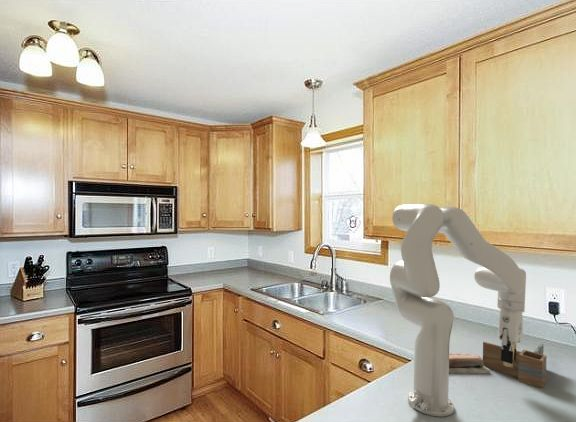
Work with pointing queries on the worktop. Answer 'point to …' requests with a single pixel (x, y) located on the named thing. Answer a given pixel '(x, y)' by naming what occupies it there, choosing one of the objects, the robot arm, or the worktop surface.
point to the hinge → (518, 364)
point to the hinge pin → (513, 354)
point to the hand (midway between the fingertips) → (508, 360)
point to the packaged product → (466, 363)
